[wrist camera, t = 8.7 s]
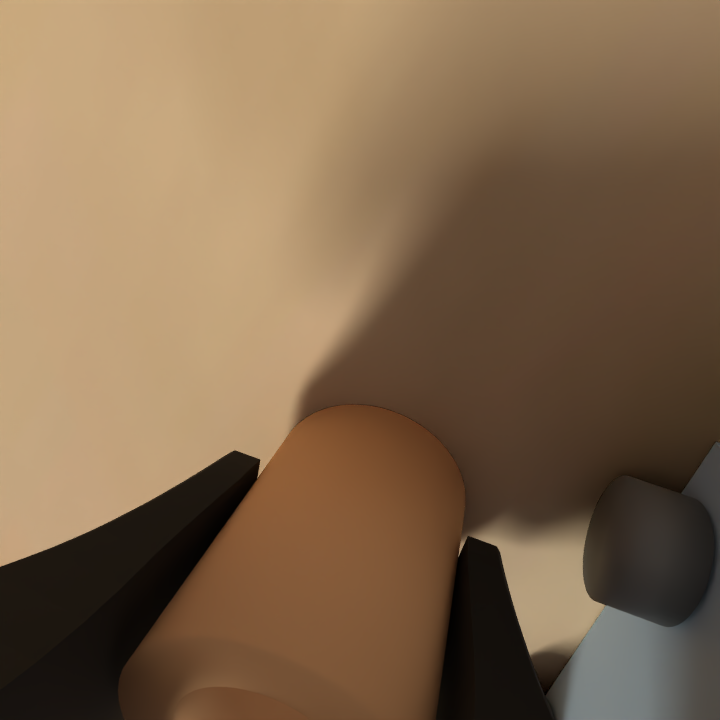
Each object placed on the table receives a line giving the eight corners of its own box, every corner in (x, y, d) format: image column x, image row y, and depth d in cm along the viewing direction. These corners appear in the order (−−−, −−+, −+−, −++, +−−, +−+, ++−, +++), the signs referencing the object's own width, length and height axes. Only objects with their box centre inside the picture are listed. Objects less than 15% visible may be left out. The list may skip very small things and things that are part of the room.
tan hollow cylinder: (433, 587, 14) (365, 963, 8) (267, 523, 14) (83, 824, 8) (494, 445, 11) (464, 816, 5) (294, 377, 12) (71, 642, 6)
